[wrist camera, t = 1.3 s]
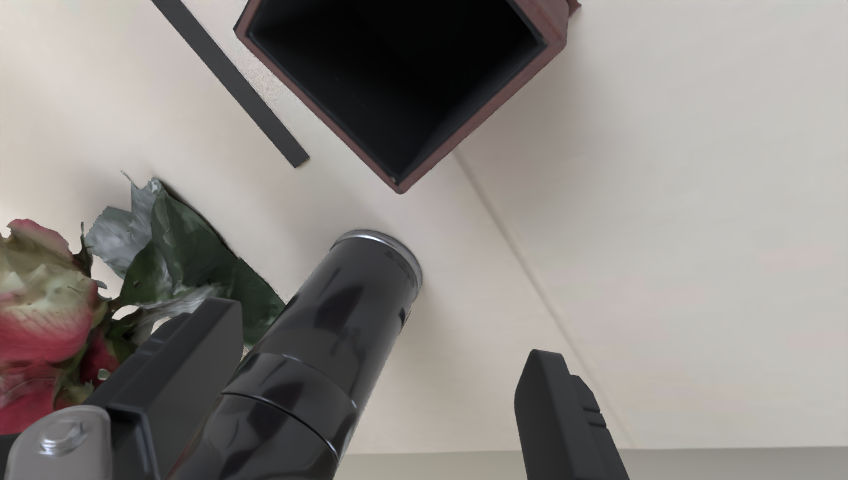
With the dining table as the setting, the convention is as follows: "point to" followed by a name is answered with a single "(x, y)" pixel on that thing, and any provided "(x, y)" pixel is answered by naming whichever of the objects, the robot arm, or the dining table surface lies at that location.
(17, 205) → the dining table surface
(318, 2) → the desk organizer
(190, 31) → the tape line
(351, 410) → the robot arm
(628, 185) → the dining table surface
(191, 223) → the rose bouquet
